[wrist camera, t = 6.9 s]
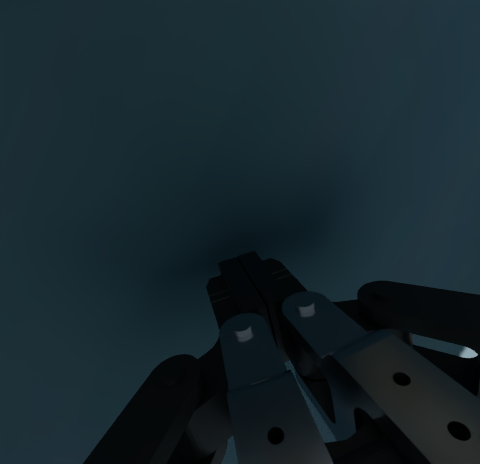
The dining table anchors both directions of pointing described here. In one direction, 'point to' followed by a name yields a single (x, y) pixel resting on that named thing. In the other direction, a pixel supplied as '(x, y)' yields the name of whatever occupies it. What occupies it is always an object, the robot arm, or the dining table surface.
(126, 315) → the dining table surface
